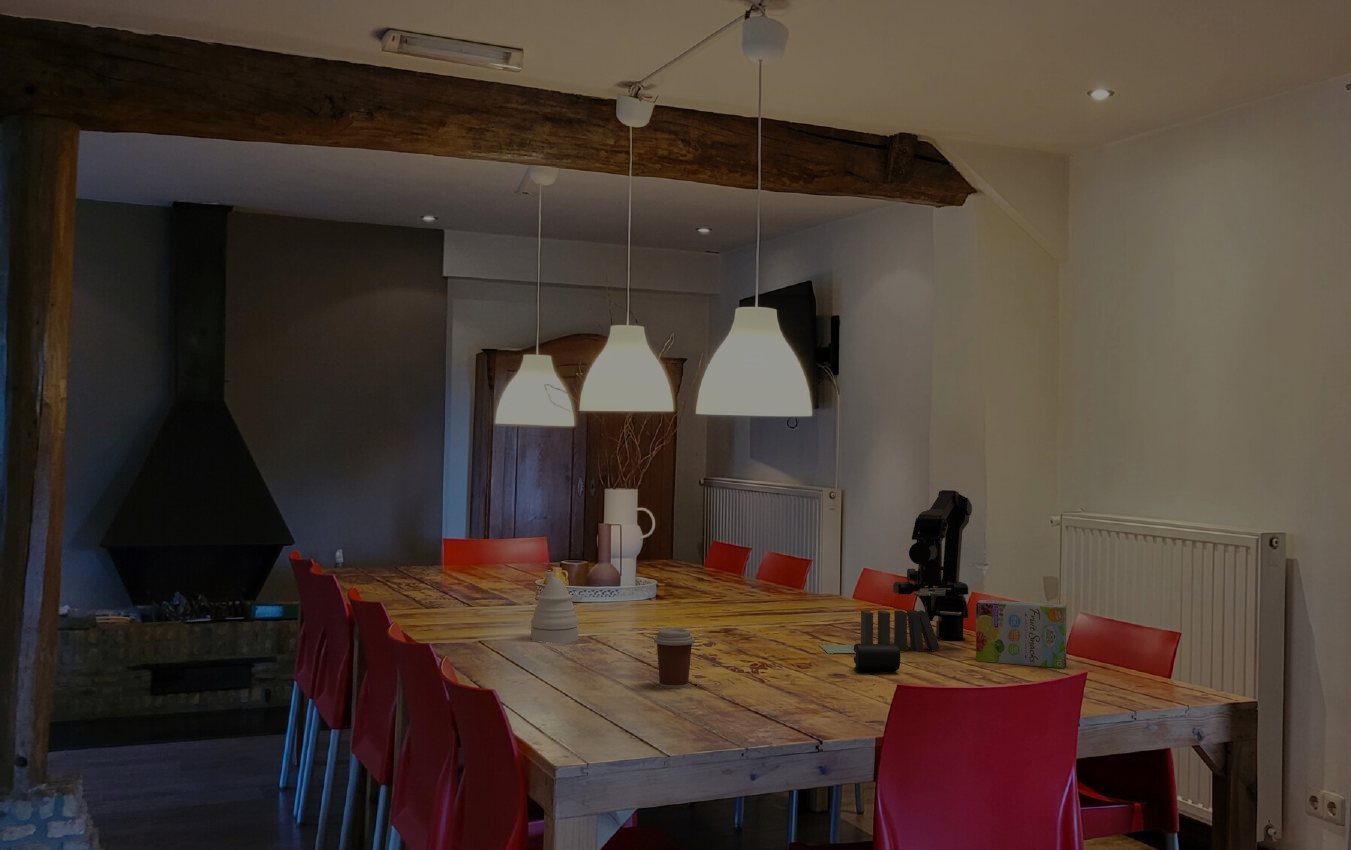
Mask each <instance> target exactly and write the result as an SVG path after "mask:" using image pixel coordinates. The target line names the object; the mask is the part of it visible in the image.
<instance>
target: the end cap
mask: <svg viewBox="0 0 1351 850" xmlns="http://www.w3.org/2000/svg"><path fill="white" fill-rule="evenodd" d="M853 646H854V649H853V650H854V651H855V652H856V654H855V656H853V662H854V664H855V666H854V670H855V671H856V673H859V674H860V673H862V674H863V673H866V674H868V673H871V674H873V673H874V674H875V673H878V672H879V673H880V672H895V673H897V671H898V670H899V669H900V666H901V652H900V649H899V646H898V645H897V644H894V643H890V644H888V643H886V644H882V643H881V644H878V643H873V644H865V643H864V644H861V642H859V643H854V644H853Z"/></svg>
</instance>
